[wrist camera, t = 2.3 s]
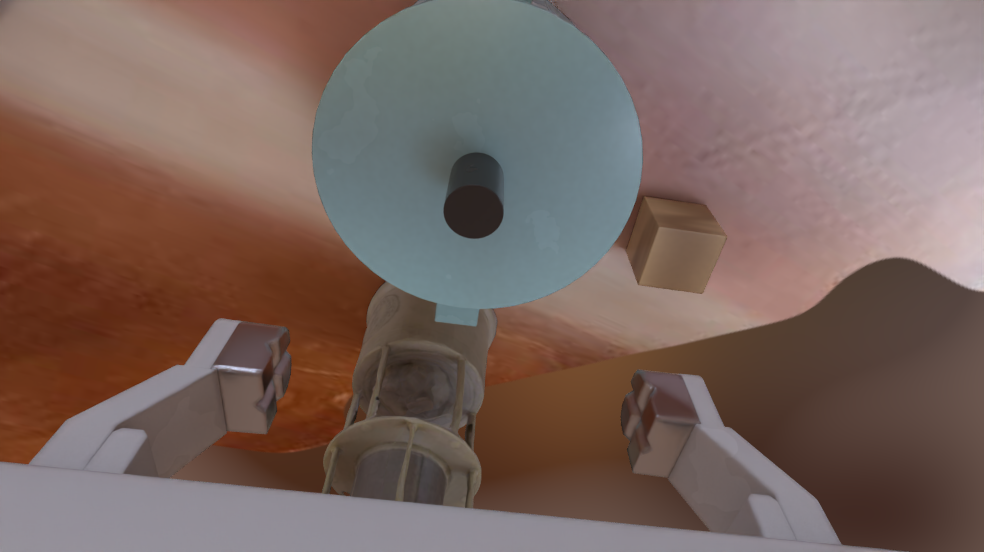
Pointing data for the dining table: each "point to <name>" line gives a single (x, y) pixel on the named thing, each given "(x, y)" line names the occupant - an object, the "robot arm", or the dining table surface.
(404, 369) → the lamp
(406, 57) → the pot lid
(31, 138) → the dining table surface
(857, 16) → the dining table surface
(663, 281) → the block
